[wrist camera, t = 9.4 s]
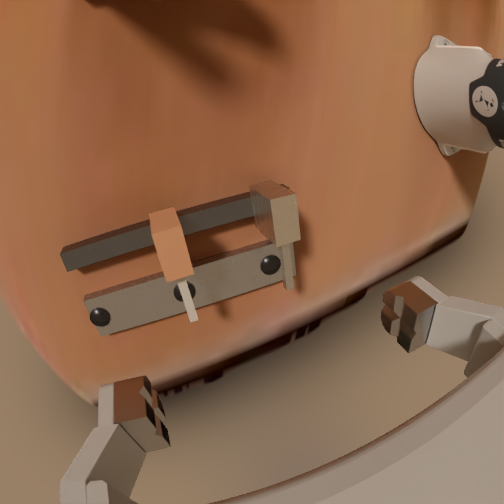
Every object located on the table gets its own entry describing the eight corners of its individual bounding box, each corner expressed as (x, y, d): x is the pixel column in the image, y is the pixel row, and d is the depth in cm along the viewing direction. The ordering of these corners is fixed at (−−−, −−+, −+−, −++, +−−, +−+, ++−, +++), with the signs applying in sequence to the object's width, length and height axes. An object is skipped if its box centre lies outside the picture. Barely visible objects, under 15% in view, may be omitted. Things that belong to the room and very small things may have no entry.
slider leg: (173, 206, 29) (181, 225, 24) (197, 294, 33) (209, 324, 29) (149, 213, 28) (151, 234, 23) (176, 300, 33) (184, 331, 28)
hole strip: (287, 233, 36) (293, 238, 35) (291, 270, 39) (296, 275, 38) (83, 295, 31) (81, 302, 30) (100, 330, 33) (99, 337, 32)
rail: (280, 173, 33) (314, 189, 27) (290, 254, 38) (320, 283, 31) (59, 236, 28) (41, 268, 21) (93, 314, 32) (89, 356, 26)
